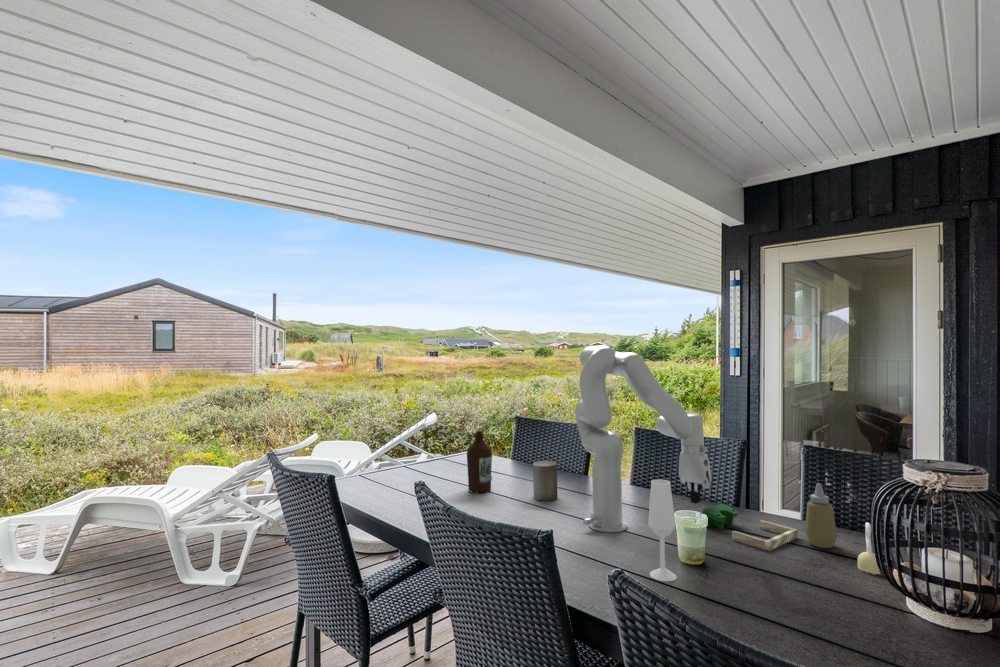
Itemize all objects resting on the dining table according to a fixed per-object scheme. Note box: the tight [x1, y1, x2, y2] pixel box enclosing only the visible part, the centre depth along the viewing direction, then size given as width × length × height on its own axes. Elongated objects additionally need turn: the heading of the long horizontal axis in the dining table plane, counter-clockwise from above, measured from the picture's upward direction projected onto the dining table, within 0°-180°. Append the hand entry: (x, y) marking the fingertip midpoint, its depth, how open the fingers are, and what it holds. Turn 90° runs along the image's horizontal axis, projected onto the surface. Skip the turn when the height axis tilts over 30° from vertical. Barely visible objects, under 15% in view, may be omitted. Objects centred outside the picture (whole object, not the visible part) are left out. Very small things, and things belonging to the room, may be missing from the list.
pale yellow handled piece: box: [857, 522, 881, 575], centre depth 133 cm, size 6×5×12 cm
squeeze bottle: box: [804, 482, 838, 549], centre depth 150 cm, size 8×8×18 cm
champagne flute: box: [647, 479, 677, 582], centre depth 131 cm, size 7×7×24 cm
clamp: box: [702, 503, 739, 530], centre depth 168 cm, size 12×6×9 cm, turn 118°
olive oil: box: [466, 429, 493, 493], centre depth 214 cm, size 11×11×25 cm
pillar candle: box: [532, 460, 559, 502], centre depth 202 cm, size 10×10×15 cm
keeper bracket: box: [731, 519, 799, 552], centre depth 155 cm, size 17×11×2 cm, turn 125°
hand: (695, 502), depth 176 cm, fingers closed
